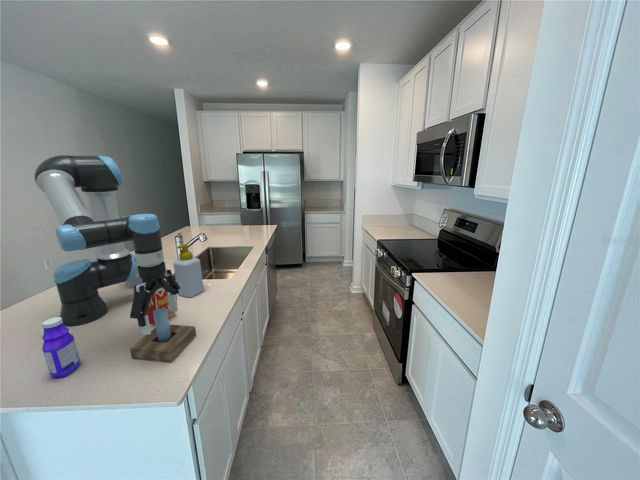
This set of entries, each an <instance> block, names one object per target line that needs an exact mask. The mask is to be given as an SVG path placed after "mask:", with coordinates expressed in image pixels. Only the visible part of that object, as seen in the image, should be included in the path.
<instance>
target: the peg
mask: <svg viewBox="0 0 640 480" xmlns="http://www.w3.org/2000/svg"><path fill="white" fill-rule="evenodd" d="M153 315H154V321H155V326H156V331H157V337H158V342H164V343H167V342H168V341H169V340H170V339H171V338H172V337H171V331H170V325H171V324H170V321H169V320H168V314H167V309H166V308H159V309H156V310H155V311H153Z"/></svg>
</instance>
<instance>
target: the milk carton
mask: <svg viewBox="0 0 640 480" xmlns="http://www.w3.org/2000/svg"><path fill="white" fill-rule="evenodd" d="M146 292H149V291H146ZM168 294H170V293H168V292H167V291H166V290H164V289H163V288H160V289H158V290H157V291H156V292H155V293H154V295H153V296H152V297H151V300H150V303H149V306H148V309H147V312H146V315H148V319H149V324H150V327H153V328H155V327H156V326H155V321H154V315H153V311H155V310H156V309H159V308H166V309H167V314H168V320H169V322H171V320H174V319H175V318H177V317H178V315H177V313H176V311H170V308H169V301H168Z"/></svg>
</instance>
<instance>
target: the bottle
mask: <svg viewBox="0 0 640 480" xmlns="http://www.w3.org/2000/svg"><path fill="white" fill-rule="evenodd" d="M42 328H43V334H42V337H41V339H42V340H43V343H42V347H41V349H42V353H43V358H44V359H45V360H44V361H45V363H46V365H47V369H48V372H49V373H48V374H49V375H50V376H51V377H53V378H62V377H65V376H67V375H69V374H71V373H72V372H74V370H76V369H77V368H78V367H79V365H80V363H81V359H80V355H79V351H78V347H77V344H76V340H75V337H74V335H73V334H72V333H71V332H69V331H70V328H68V326H65V325H64V323H63V321H62V318H61V317H60V316H57V317H56V316H55V317H51V318H48V319H46V320H44V321H43V322H42Z"/></svg>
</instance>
